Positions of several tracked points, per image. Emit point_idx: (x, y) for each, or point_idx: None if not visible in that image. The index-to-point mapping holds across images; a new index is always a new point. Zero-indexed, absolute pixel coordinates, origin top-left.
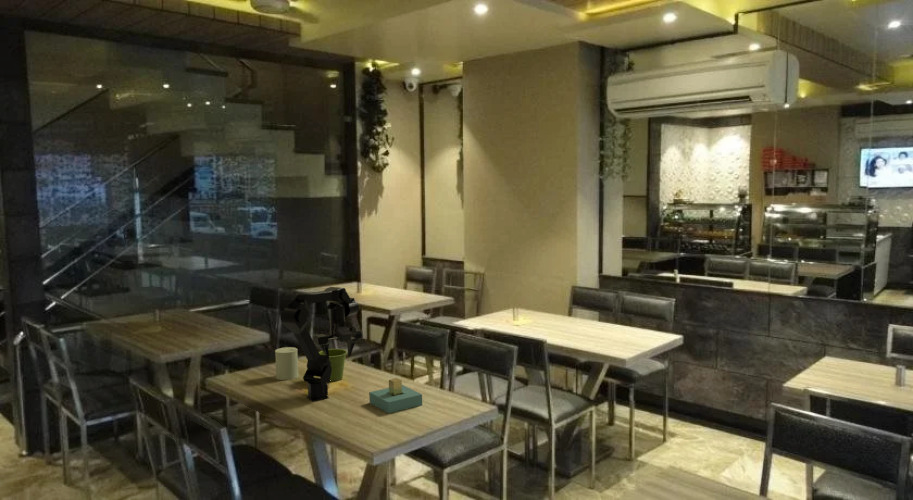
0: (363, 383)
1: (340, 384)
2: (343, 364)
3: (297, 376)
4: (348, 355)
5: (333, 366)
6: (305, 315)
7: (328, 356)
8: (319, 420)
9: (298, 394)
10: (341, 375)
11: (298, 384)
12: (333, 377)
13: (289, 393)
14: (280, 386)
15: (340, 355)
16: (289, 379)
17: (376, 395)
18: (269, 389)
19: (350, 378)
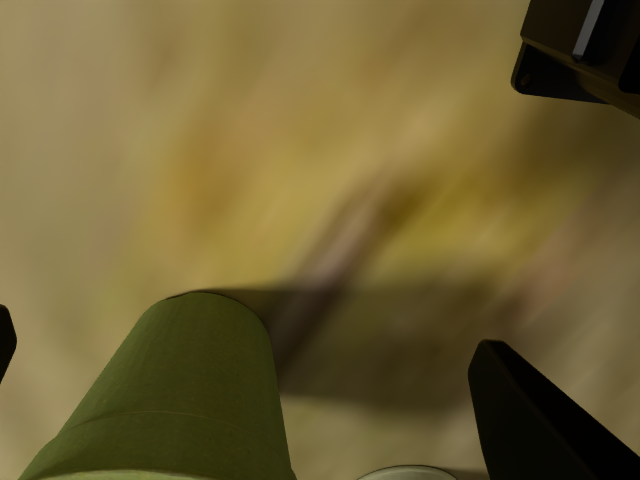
0: (17, 81)
1: (226, 205)
2: (95, 391)
3: (369, 478)
4: (14, 346)
5: (223, 387)
6: None
7: (534, 390)
8: None
9: (620, 215)
10: (154, 316)
11: (452, 382)
12: (233, 317)
13: (633, 275)
14: None
15: (110, 472)
16: (427, 467)
17: None
18: (627, 404)
19: (83, 279)
